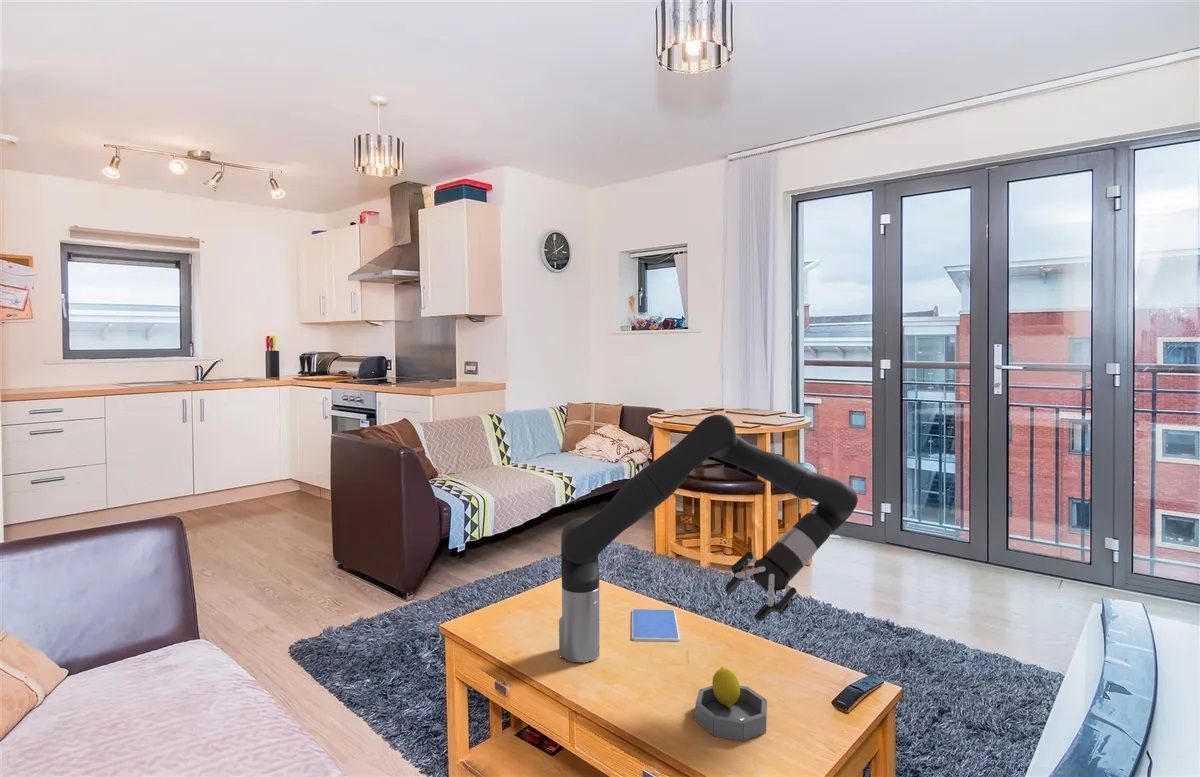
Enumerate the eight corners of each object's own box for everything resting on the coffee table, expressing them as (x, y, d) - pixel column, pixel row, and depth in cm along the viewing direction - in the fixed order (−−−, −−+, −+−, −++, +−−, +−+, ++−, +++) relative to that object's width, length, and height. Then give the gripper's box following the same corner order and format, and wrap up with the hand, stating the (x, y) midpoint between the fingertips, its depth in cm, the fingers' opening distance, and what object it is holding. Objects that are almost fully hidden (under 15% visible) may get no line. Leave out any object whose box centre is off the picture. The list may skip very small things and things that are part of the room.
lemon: (743, 702, 125) (733, 661, 131) (715, 706, 126) (707, 665, 131) (745, 709, 129) (735, 669, 135) (718, 713, 130) (710, 673, 135)
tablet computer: (631, 612, 181) (631, 607, 181) (675, 613, 181) (675, 608, 180) (631, 642, 162) (631, 638, 162) (680, 644, 161) (680, 638, 161)
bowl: (692, 732, 122) (692, 714, 122) (701, 695, 136) (701, 679, 135) (765, 744, 118) (765, 726, 118) (767, 705, 132) (767, 689, 131)
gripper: (763, 526, 141) (713, 577, 138) (814, 565, 131) (762, 622, 128) (769, 541, 146) (721, 591, 143) (819, 580, 136) (769, 635, 133)
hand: (741, 605), depth 135 cm, fingers open, 8 cm apart
